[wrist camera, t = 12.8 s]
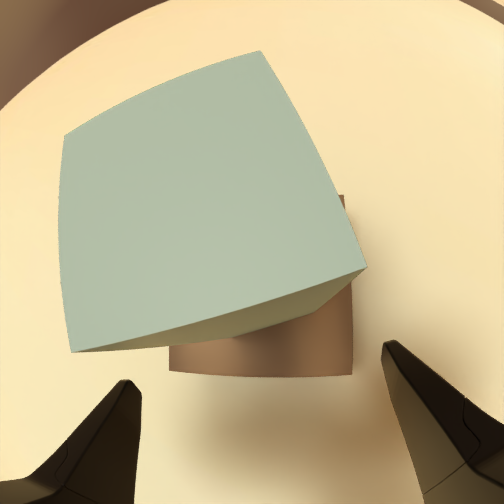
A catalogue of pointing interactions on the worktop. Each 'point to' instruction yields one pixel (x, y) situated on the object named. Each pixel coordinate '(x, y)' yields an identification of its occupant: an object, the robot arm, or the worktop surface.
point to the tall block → (198, 214)
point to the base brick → (279, 346)
